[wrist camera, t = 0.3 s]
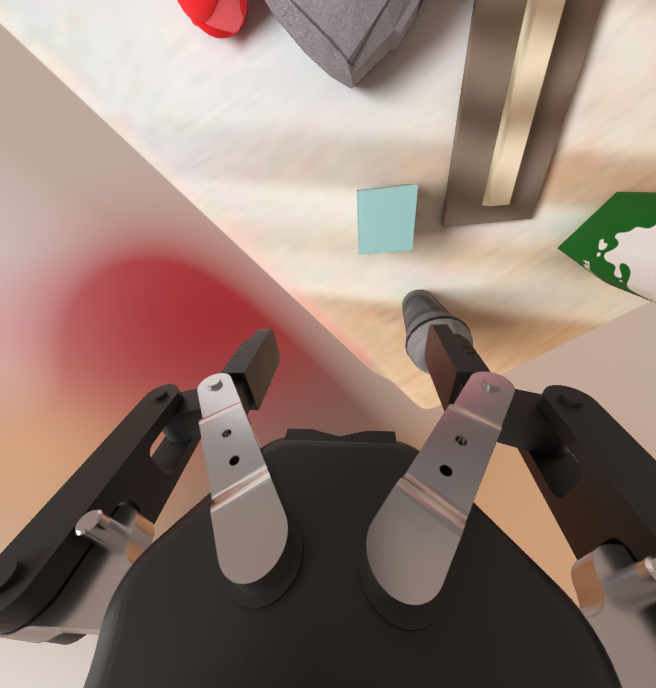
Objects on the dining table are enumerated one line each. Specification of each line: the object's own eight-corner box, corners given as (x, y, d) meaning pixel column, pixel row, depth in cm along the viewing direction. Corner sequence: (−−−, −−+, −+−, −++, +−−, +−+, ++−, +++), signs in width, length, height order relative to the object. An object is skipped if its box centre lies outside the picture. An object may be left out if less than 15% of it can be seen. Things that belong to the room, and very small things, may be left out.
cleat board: (479, -34, 20) (497, -68, 17) (615, -67, 19) (657, -108, 16) (441, 225, 31) (449, 229, 28) (525, 217, 30) (541, 220, 27)
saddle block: (356, 190, 30) (356, 191, 23) (404, 184, 29) (418, 184, 22) (358, 240, 33) (358, 254, 27) (400, 237, 32) (412, 250, 26)
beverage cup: (447, 312, 38) (517, 411, 21) (402, 329, 40) (434, 430, 24) (433, 272, 34) (503, 352, 18) (386, 294, 37) (409, 381, 21)
